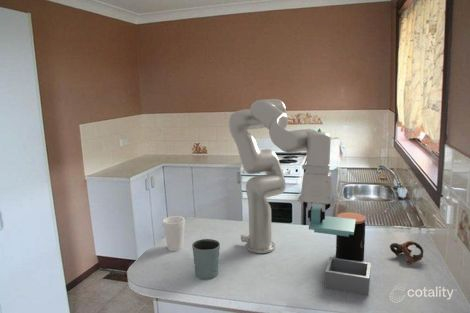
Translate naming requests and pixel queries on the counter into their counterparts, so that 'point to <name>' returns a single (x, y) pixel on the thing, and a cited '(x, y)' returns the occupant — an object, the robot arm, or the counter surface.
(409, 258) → the brown looped piece
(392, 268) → the counter surface
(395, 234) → the counter surface
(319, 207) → the teal platform with post
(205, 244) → the green tapered cup
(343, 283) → the tub
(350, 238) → the coffee jar
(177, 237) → the foam cup
